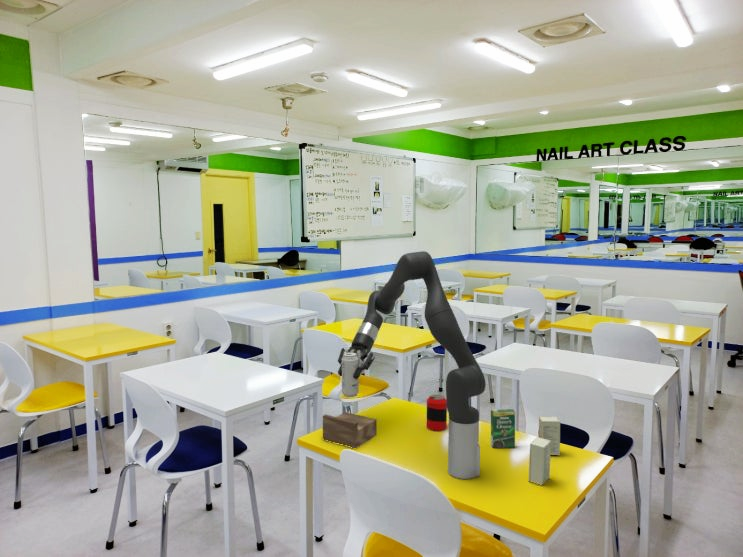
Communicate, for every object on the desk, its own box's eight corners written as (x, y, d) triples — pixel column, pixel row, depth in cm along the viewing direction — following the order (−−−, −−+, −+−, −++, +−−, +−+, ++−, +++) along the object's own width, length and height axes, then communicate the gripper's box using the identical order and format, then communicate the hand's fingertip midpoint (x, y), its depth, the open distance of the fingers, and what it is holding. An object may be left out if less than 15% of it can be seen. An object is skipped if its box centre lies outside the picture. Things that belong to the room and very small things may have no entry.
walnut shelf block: (345, 427, 196) (345, 404, 195) (376, 435, 189) (376, 411, 188) (322, 440, 184) (322, 415, 183) (355, 449, 177) (355, 423, 176)
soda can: (422, 426, 198) (423, 395, 196) (438, 422, 201) (439, 392, 200) (434, 432, 191) (434, 401, 190) (450, 429, 194) (451, 398, 193)
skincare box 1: (556, 451, 176) (558, 416, 174) (560, 456, 171) (561, 421, 170) (537, 450, 176) (538, 415, 175) (540, 455, 172) (541, 420, 171)
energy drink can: (356, 398, 182) (356, 356, 180) (340, 397, 183) (339, 355, 181) (360, 392, 187) (360, 352, 186) (344, 391, 189) (343, 351, 187)
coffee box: (491, 448, 178) (492, 411, 176) (489, 445, 180) (490, 408, 179) (515, 448, 178) (516, 411, 176) (512, 445, 181) (513, 408, 179)
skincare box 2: (536, 474, 159) (537, 436, 158) (550, 478, 156) (551, 440, 155) (527, 482, 154) (529, 443, 153) (542, 486, 152) (543, 447, 150)
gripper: (345, 329, 193) (326, 368, 184) (378, 334, 185) (359, 374, 176) (353, 340, 198) (335, 378, 189) (385, 345, 190) (368, 385, 181)
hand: (347, 376), depth 183 cm, fingers closed on energy drink can, 6 cm apart
